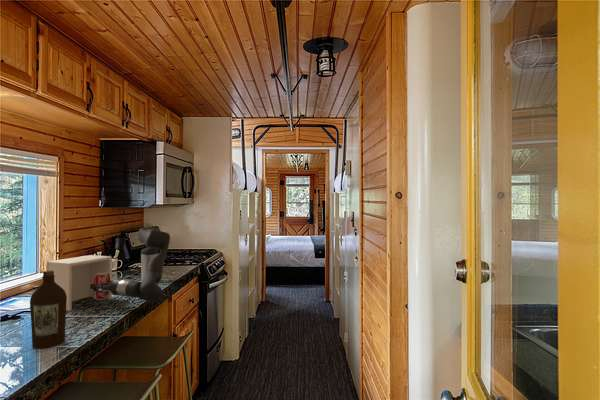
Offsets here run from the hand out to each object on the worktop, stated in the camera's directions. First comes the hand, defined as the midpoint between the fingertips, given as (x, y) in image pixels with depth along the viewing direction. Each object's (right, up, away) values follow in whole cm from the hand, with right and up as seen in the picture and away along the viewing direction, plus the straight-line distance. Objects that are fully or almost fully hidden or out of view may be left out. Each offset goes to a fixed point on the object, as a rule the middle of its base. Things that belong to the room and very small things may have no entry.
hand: (98, 284), depth 176 cm
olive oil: (+8, -10, -47) cm, 48 cm away
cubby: (-12, -10, +5) cm, 16 cm away
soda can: (+2, -7, -1) cm, 7 cm away
